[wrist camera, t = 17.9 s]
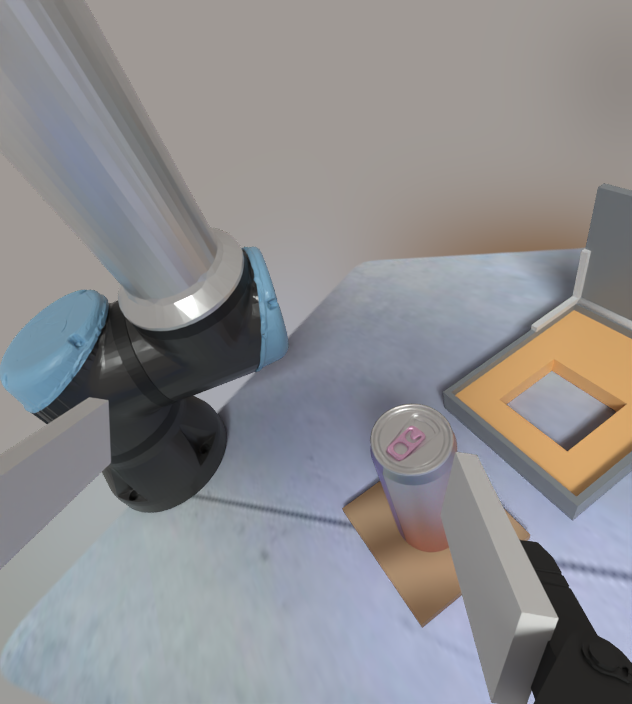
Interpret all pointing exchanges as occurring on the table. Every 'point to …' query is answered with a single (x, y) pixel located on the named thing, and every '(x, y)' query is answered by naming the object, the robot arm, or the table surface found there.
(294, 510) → the table surface
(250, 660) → the table surface
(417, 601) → the walnut board
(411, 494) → the beverage can
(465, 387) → the equipment case
